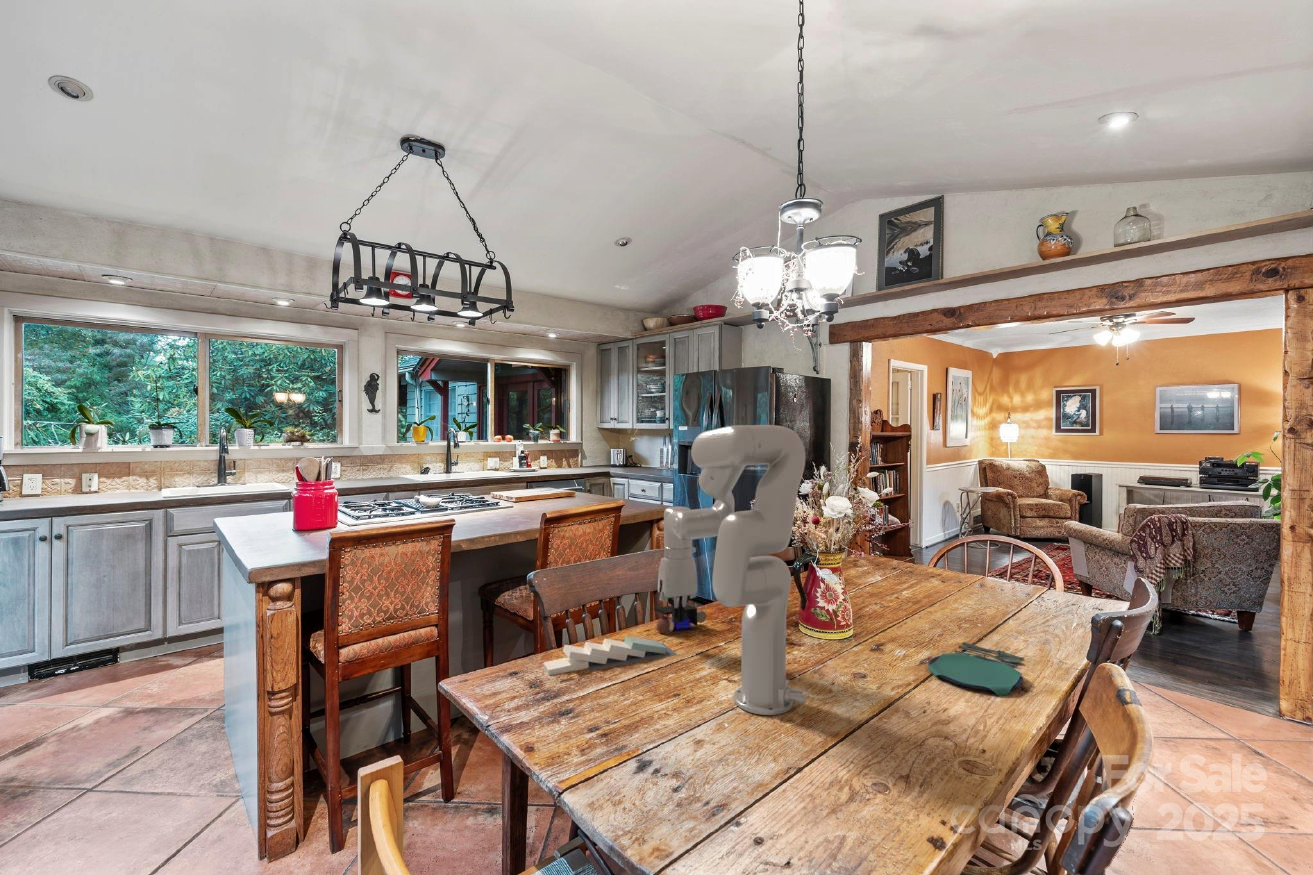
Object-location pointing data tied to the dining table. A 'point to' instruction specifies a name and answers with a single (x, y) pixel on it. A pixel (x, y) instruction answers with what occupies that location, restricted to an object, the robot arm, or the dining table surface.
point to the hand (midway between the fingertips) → (678, 620)
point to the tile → (645, 645)
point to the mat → (630, 659)
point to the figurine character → (690, 617)
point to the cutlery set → (978, 669)
